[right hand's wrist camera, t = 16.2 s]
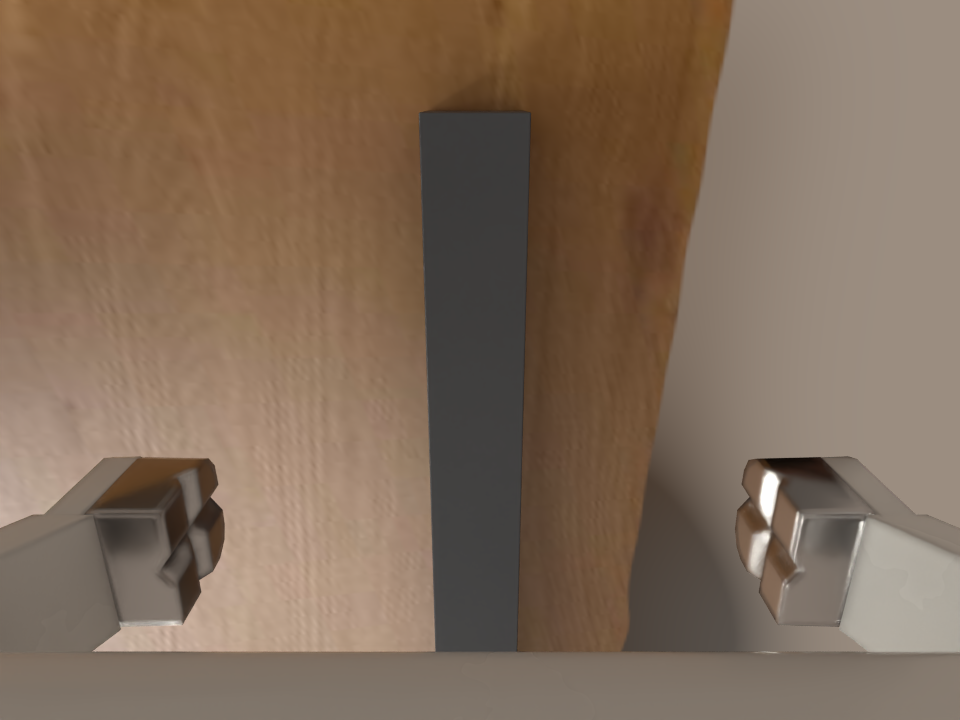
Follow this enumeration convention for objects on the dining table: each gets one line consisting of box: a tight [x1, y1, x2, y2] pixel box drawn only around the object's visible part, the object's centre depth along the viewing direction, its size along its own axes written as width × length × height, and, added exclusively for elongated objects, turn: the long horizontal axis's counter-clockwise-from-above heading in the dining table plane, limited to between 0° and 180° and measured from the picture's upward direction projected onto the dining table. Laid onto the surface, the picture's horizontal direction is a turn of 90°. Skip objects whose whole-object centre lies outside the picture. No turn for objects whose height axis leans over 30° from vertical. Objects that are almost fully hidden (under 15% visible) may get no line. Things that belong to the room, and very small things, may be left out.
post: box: [419, 111, 531, 652], centre depth 42 cm, size 53×5×5 cm, turn 0°
